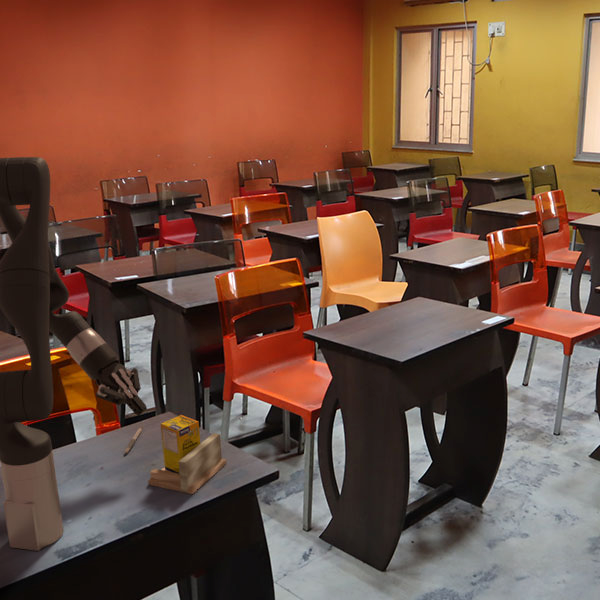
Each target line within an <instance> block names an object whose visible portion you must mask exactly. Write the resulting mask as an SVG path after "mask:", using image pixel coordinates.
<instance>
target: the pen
mask: <svg viewBox="0 0 600 600" xmlns="http://www.w3.org/2000/svg"><path fill="white" fill-rule="evenodd" d="M143 429H144V427H143V426H142V425H141V426H139V427H138V428H137V430H136V432H135V434H134V435H133V437H132V438H131V439H130V441H129V443H128V444H127V445H126V448H125V451H124V454H128V453H129V452H130V451H131V450H132V447H133V446H134V444H135V443H136V441H137V439H138V437H139V436H140V434H142V432H143Z"/></svg>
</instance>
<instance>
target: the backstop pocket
mask: <svg viewBox="0 0 600 600" xmlns="http://www.w3.org/2000/svg"><path fill="white" fill-rule="evenodd" d="M221 441H222V440H221V434H220V433H215V432H213V433H212V434H211V435H210V436H208V437H207V438H206V439H205V440H203V441H202V442H200V443H201V444H200V445H198V446H197V447H196V448H195V449H193V450H192V451H191V452H190V453H188V454H187V455H186V456H185V457H183V458H182V459H181V460H180V461H179V471H180V474H178V473H173V472H171V471H168V470H166V469H165V466H164V467H162V468H161V469H159V468H153V469H152V470H150V471H149V472H150V474H149V475H150V478H149V479H147V483H148V484H147V485H148V486H153V487H154V486H155V487H158V486H159V488H163V489H168V490H172V491H176V492H181V493H185V494H186V493H187V494H189V495H193V494H195V493H196V492H197V491H198V490H199V488H201V487H202V486H203V485H205V484H206V483H207V481H209V480H210V479H211V478H213V476H214V475H215V474H217V472H219V471H220V470H221V469H222V468H223V467H224V466H225V465H227V459H226V458H225V459H224V458H223V457H222V456H223V455H222V442H221ZM197 489H198V490H197Z"/></svg>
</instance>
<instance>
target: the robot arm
mask: <svg viewBox="0 0 600 600" xmlns="http://www.w3.org/2000/svg"><path fill="white" fill-rule="evenodd" d="M50 202H51V172H50V168H49V165H48V163H47V161H46V160H45V159H44V158H43V157H39V156H38V157H37V156H22V157H21V156H20V157H15V156H13V157H0V220H1V223H2V224H3V227H4V229H5V231H6V233H7V234H8V237H9V239H10V241H11V244H10V246H9V247H8V248H7V249H6V251H5V252H4V254H3V255H2V258H1V260H0V309H1V311H2V313H3V314H4V315H5V317H6V318H7V319H8V322H9V323H10V324H11V325H12V326H13V328H14V329H15V330H16V332H17V333H18V335H19V336H20V338H21V340H22V341H23V343H24V345H25V348H26V349H27V351H28V355H29V359H30V360H29V361H30V369H21V370H20V369H19V370H7V371H0V470H1V477H2V482H3V483H2V484H3V489H4V496H5V500H4V501H3V502H2V505H3V512H4V517H5V522H6V523H5V524H6V530H7V537H8V542H9V547H10V548H14V549H22V550H30V551H36V552H38V551H41V549H43V548H45V547H47V546H49V545H52V544H54V543H56V541H58V540H59V539H60V538H61V537H62V536H63V534H64V532H65V531H64V524H63V517H62V510H61V502H60V495H59V487H58V480H57V475H56V474H57V473H56V467H55V459H54V452H53V446H52V439H51V436H50V435H49V433H47V432H45V431H44V430H41V429H39V428H34V427H31V426H28V425H26V424H24V423H22V422H33V421H43V420H46V419H48V418H49V417H50V416H51V414H52V411H53V407H54V386H53V385H54V383H53V372H52V371H53V370H52V358H51V355H52V354H51V345H50V333H51V334H52V335H53V336H54V337H56V339H57V340H58V341H59V343H61V344H62V345H63V347H65V349H66V350H67V352H68V353H69V355H70V356H71V358H72V359H73V360H74V361H75V362H76V363H77V365H78V366H79V367H80V369H82V370H83V372H85V374H86V375H87V376H88V378H90V380H93V381H95V382H96V385H97V386H98V391H97V392H96V393H95V396H96V398H99V399H101V400H104V401H106V402H109V403H112V404H115V405H117V406H120V405H123V404H125V405H127V406H128V407H129V409H130V410H131V411H132V412H133V413H134V414H135V415H136V416H141V415H142V414H144V413H145V412H146V411H147V409H148V407H147V405H146V403H145V402H144V401H143V400H142V399H141V398H140V396H139V395H138V394H139V391H140V390H141V389H142V388H141V383H140V377H139V371H138V369H137V368H136V367H134V368H132V369H127V368H126V366H125V365H123V364H121V363H120V362H119V356H118V355H117V354H116V352H115V351H114V350H113V349H112V348H111V347H110V346H109V344H108V343H107V342H106V341H105V340H104V338H102V337H101V335H100V334H98V333H97V331H95V330H94V329H93V327H91V326H90V324H89V323H88V322H87V321H86V320H85V319H84V317H82V315H81V314H80V313H79V312H77V311H75V310H71V311H68V312H65V313H61V314H56V313H54V312H56V311H57V310H59V309H60V308H62V307H63V306H65V305H66V304H67V302H68V300H69V298H70V292H69V289H68V288H67V286H66V285H65V283H64V282H63V280H62V279H61V277H60V274H59V273H58V271H57V270H56V267H55V263H54V262H55V261H54V258H53V253H52V250H51V247H50V246H51V245H49V220H50V218H49V217H50ZM28 205H29V208H28V212H27V215H26V218H25V217H24V215H22V213H21V212H20V211H19V209H18V208H17V206H28Z"/></svg>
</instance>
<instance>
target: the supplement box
mask: <svg viewBox="0 0 600 600" xmlns="http://www.w3.org/2000/svg"><path fill="white" fill-rule="evenodd" d="M160 431H161V433H160V434H161V441H162V451H163V463H164V467H165V469H166V470H168V471H171V472H173V473H178V474H180V471H179V461H180V460H181V459H182V458H183V457H185V456H186V455H187V454H188V453H190V452H191V451H192V450H193V449H195V448H196V447H197V446H198V445H200V444H201V443H202V442H201V434H200V423H199V421H198V420H195V419H193V418H191V417H188V416H185V415H182V414H180V415H178V416H175V417H173V418H170V419H169V420H166V421H164V422H162V423H160Z"/></svg>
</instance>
